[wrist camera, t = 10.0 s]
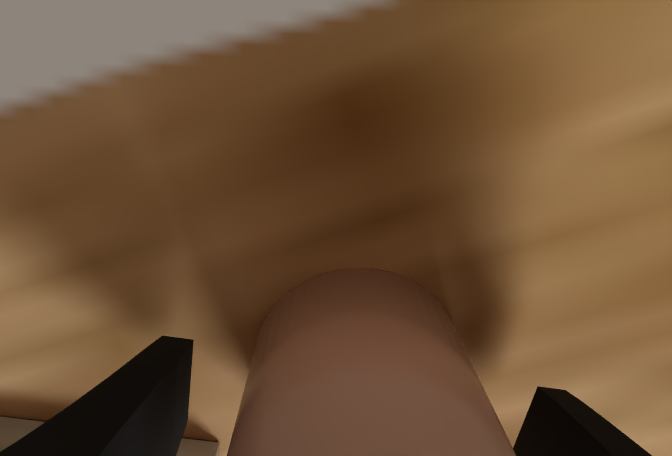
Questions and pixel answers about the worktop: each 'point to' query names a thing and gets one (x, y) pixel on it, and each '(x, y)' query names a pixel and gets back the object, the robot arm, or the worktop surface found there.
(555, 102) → the worktop surface
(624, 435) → the robot arm
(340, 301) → the terracotta cylinder
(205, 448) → the letter board
